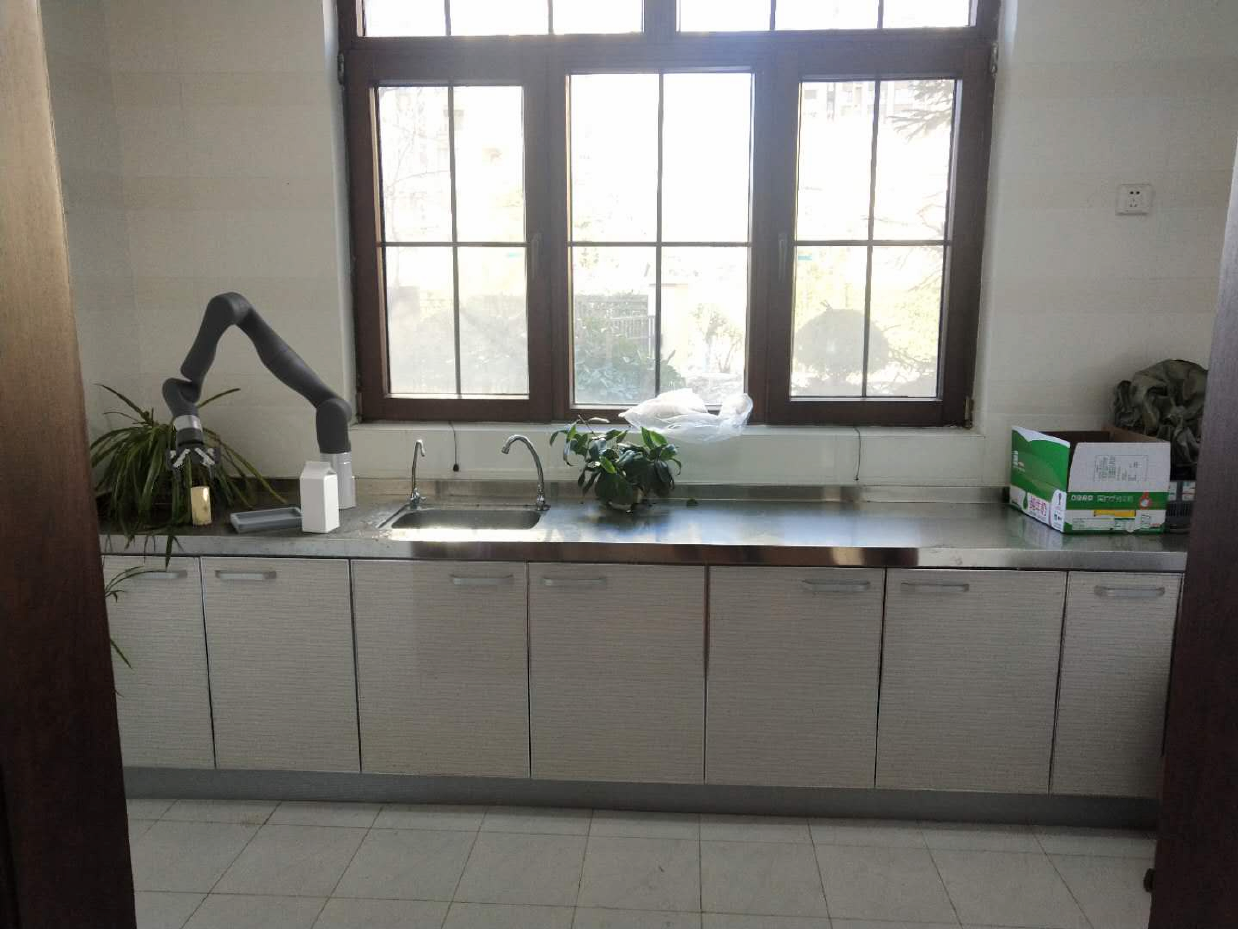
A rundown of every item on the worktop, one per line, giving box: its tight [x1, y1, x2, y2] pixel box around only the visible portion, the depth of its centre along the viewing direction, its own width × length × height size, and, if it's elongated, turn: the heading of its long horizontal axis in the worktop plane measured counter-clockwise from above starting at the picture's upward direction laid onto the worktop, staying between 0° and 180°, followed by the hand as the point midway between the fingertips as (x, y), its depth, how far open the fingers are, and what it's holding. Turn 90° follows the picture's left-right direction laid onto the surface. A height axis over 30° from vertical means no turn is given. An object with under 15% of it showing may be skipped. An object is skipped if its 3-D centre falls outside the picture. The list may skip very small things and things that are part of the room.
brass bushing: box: [190, 486, 212, 526], centre depth 237 cm, size 5×5×10 cm
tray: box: [229, 506, 302, 534], centre depth 238 cm, size 18×14×2 cm
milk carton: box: [299, 460, 340, 534], centre depth 232 cm, size 7×7×19 cm
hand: (196, 478), depth 242 cm, fingers open, 8 cm apart
